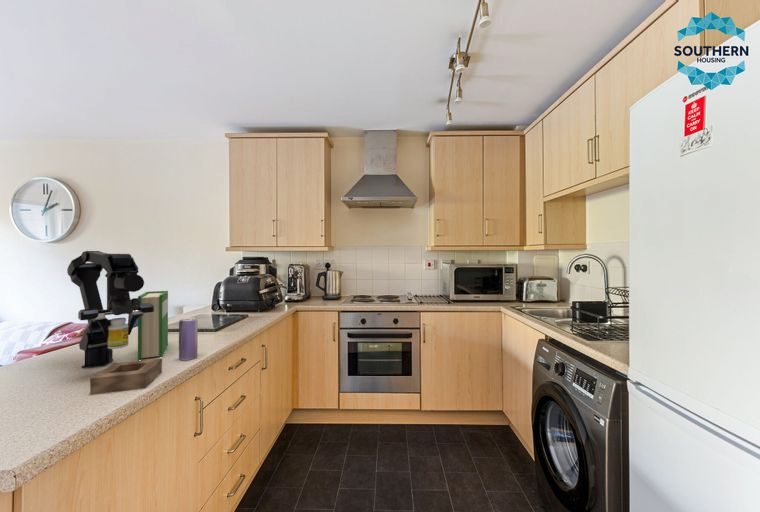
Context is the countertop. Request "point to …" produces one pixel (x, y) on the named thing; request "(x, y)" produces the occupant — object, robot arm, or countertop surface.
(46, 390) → the countertop surface
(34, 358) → the countertop surface
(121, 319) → the supplement bottle
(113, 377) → the well block
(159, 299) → the hardback book
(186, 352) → the beverage can
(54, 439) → the countertop surface
